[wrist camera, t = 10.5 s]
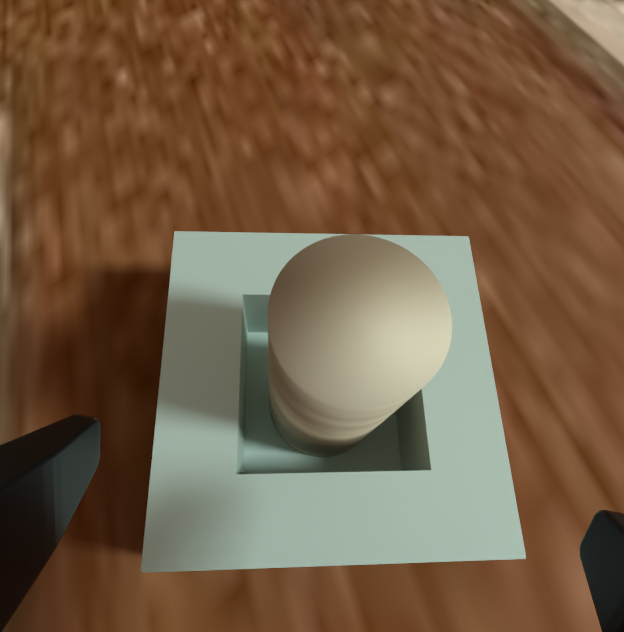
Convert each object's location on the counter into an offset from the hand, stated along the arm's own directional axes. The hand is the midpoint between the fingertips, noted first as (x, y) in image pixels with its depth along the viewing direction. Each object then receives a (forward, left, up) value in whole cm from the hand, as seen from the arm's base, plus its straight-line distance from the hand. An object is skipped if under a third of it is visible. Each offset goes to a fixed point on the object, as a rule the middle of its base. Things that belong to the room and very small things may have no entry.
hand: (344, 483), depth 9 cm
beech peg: (+4, -1, -12) cm, 12 cm away
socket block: (+4, -1, -13) cm, 13 cm away
